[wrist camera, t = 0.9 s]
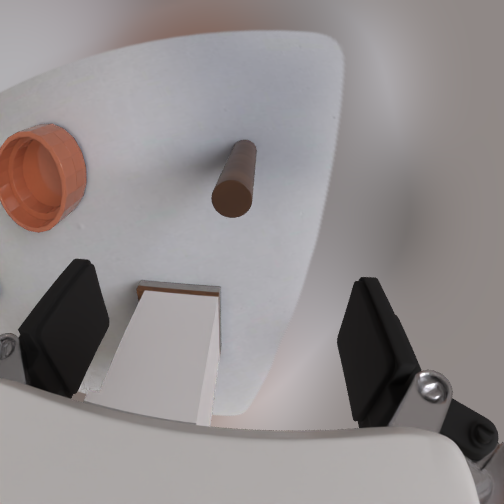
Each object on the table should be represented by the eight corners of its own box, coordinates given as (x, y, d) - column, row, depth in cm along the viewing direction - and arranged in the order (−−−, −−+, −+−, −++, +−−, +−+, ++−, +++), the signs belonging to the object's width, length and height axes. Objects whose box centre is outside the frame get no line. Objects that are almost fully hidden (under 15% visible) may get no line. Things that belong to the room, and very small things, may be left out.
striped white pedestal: (141, 280, 39) (36, 546, 8) (220, 286, 39) (172, 595, 8) (153, 339, 44) (92, 557, 14) (221, 346, 44) (192, 584, 14)
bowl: (7, 159, 30) (-17, 171, 25) (57, 103, 27) (31, 109, 22) (49, 229, 35) (29, 247, 31) (105, 185, 32) (85, 201, 28)
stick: (228, 146, 30) (204, 191, 18) (249, 135, 29) (240, 173, 17) (239, 166, 31) (223, 224, 19) (260, 156, 30) (259, 208, 18)
